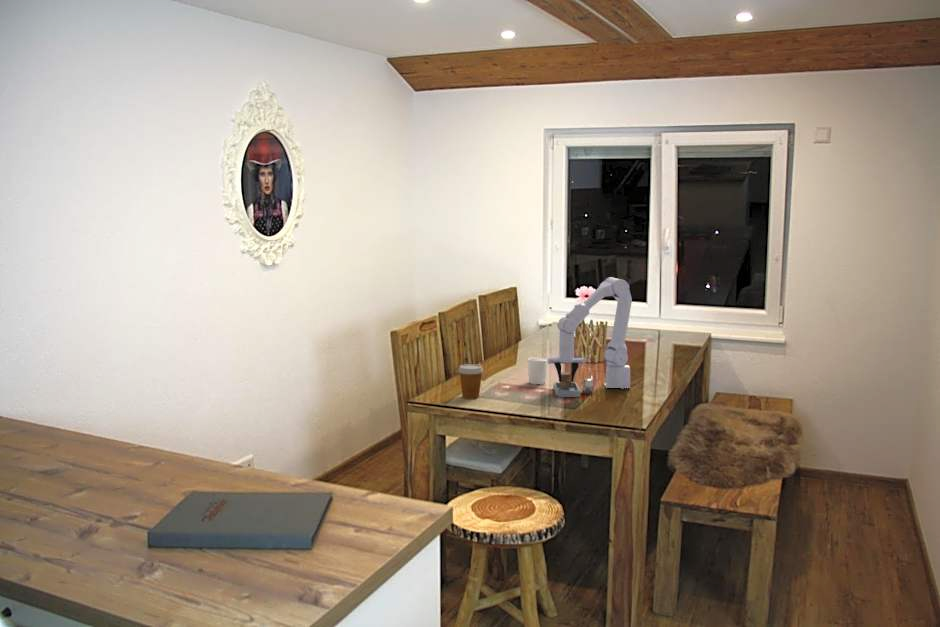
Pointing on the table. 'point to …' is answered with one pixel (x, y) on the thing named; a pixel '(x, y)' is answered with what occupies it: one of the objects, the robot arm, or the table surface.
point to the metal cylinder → (588, 385)
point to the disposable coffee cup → (470, 380)
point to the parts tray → (567, 390)
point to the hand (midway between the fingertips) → (565, 381)
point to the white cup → (537, 370)
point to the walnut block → (566, 379)
